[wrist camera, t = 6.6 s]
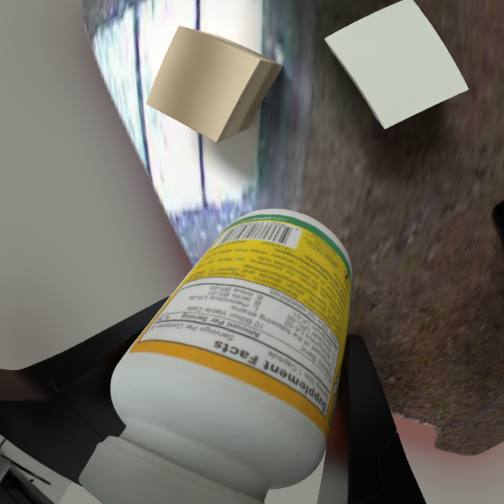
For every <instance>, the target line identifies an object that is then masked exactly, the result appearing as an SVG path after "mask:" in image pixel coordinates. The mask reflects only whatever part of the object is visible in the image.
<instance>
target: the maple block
mask: <svg viewBox="0 0 504 504" xmlns="http://www.w3.org/2000/svg"><path fill="white" fill-rule="evenodd" d="M282 67H283V66H282V65H281V64H279V63H277V62H275V61H273V60H271V59H269V58H267V57H265V56H263V55H261V54H259V53H256V52H254V51H252V50H250V49H248V48H246V47H243V46H241V45H239V44H237V43H234V42H232V41H230V40H227V39H225V38H222V37H220V36H217V35H214V34H210V33H206V32H202V31H198V30H194V29H190V28H186V27H181V26H179V27H178V29H177V31H176V33H175V35H174V37H173V40H172V42H171V44H170V46H169V48H168V51H167V53H166V55H165V57H164V60H163V62H162V64H161V67H160V69H159V72H158V74H157V77H156V79H155V82H154V84H153V87H152V89H151V92H150V95H149V97H148V100H147V103H146V104H147V105H149V106H151V107H153V108H155V109H156V110H158V111H160V112H162V113H164V114H166V115H168V116H170V117H172V118H173V119H175V120H177V121H179V122H181V123H183V124H184V125H186V126H188V127H190V128H191V129H193V130H195V131H197V132H199V133H200V134H202V135H204V136H206V137H207V138H209V139H211V140H212V141H214V142H216V143H217V142H219V141H221V140H223V139H225V138H227V137H230V136H232V135H234V134H236V133H238V132H240V131H243V130H245V129H247V128H248V126H249V124H250V122H251V121H252V119H253V117H254V115H255V113H256V112H257V110H258V108H259V106H260V105H261V103H262V101H263V99H264V98H265V96H266V94H267V92H268V91H269V89H270V87H271V86H272V84H273V82H274V80H275V79H276V77H277V75H278V74H279V72H280V70H281V69H282Z"/></svg>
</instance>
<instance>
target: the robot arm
mask: <svg viewBox="0 0 504 504" xmlns="http://www.w3.org/2000/svg"><path fill="white" fill-rule="evenodd" d="M500 210H502V211H501V213H500V214H498V212H499V211H500ZM494 215H495V217H496V220H497V222H498V225H499V227H500V230H501V233H502V235H503V238H504V200H503V201H502V202H500V203H499V204H498V205H496V206H495V208H494ZM169 297H170V296H169ZM169 297H166V298H164V299H162V300H160V301H158V302H156V303H155V304H153V305H151V306H149V307H147V308H145V309H143V310H141V311H140V312H138V313H136V314H134V315H132V316H130V317H128V318H126V319H124V320H123V321H121V322H119V323H117V324H115V325H113V326H111V327H109V328H108V329H106V330H104V331H102V332H100V333H98V334H96V335H94V336H93V337H91V338H89V339H87V340H85V341H84V342H81V343H79V344H77V345H76V346H73V347H71V348H70V349H68V350H66V351H64V352H62V353H59V354H57V355H55V356H52V357H50V358H48V359H46V360H43V361H41V362H38V363H36V364H33V365H31V366H29V367H26V368H23V369H20V370H5V369H0V504H58V503H59V501H60V500H61V498H62V497H63V495H64V493H65V492H66V490H67V489H68V487H69V485H70V484H71V482H74V483H76V484H78V485H80V486H82V485H81V484H80V482H79V476H80V475H81V473H82V471H83V470H84V468H85V466H86V465H87V463H88V461H89V460H90V458H91V456H92V455H93V453H94V451H95V449H96V447H97V444H98V443H101V442H103V441H104V440H105V439H106V438H107V437H108V436H115V437H119V436H120V435H121V434H122V433H123V431H124V430H125V428H126V425H125V424H124V423H123V421H122V420H121V419H120V417H119V415H118V414H117V412H116V410H115V408H114V405H113V402H112V398H111V390H110V388H111V379H112V375H113V372H114V370H115V368H116V366H117V364H118V363H119V362H120V360H121V359H122V358H123V356H124V355H125V354H126V352H127V351H128V349H129V348H130V347H131V346H132V344H133V343H134V342H135V340H136V339H137V338H138V337H139V335H140V334H141V333H142V332H143V330H144V329H145V328H146V327H147V325H148V324H149V323H150V322H151V320H152V319H153V318H154V316H155V315H156V314H157V313H158V311H159V310H160V309H161V308H162V306H163V305H164V304H165V303H166V301H167V300H168V299H169ZM396 431H397V429H396V426H395V423H394V420H393V417H392V414H391V411H390V408H389V406H388V403H387V400H386V397H385V394H384V392H383V389H382V386H381V384H380V381H379V378H378V376H377V373H376V370H375V368H374V365H373V363H372V360H371V358H370V355H369V353H368V350H367V348H366V345H365V343H364V340H363V338H362V336H360V335H354V334H349V335H348V336H347V339H346V344H345V352H344V359H343V364H342V369H341V377H340V382H339V387H338V393H337V399H336V405H335V410H334V415H333V421H332V427H331V430H330V434H329V438H328V442H327V447H326V454H325V461H324V467H323V473H322V479H321V485H320V491H319V496H318V501H317V504H426V502H425V499H424V497H423V495H422V493H421V490H420V488H419V486H418V484H417V481H416V479H415V477H414V475H413V472H412V470H411V468H410V465H409V463H408V460H407V458H406V455H405V452H404V449H403V446H402V444H401V441H400V437H399V435H398V433H397V432H396ZM82 487H83V486H82Z"/></svg>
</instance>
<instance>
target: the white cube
mask: <svg viewBox="0 0 504 504" xmlns="http://www.w3.org/2000/svg"><path fill="white" fill-rule="evenodd" d="M325 41H326V43H327V44H328V46H329V48H330V50H331V51H332V53H333V54H334V55H335V57H336V58H337V60H338V61H339V62H340V64H341V65H342V66H343V68H344V69H345V71H346V72H347V73H348V75H349V76H350V78H351V79H352V81H353V82H354V84H355V85H356V87H357V88H358V90H359V91H360V93H361V94H362V96H363V98H364V99H365V101H366V102H367V104H368V106H369V107H370V109H371V110H372V112H373V114H374V116H375V117H376V119H377V120H378V121H379V123H380V124H381V125H382V126H383V128H384V129H386V128H388V127H390V126H392V125H394V124H396V123H398V122H400V121H402V120H404V119H406V118H408V117H410V116H413V115H415V114H417V113H419V112H421V111H423V110H425V109H427V108H429V107H431V106H433V105H436V104H438V103H440V102H442V101H444V100H446V99H449V98H451V97H453V96H455V95H457V94H460V93H462V92H464V91H466V90H469V89H468V87H467V85H466V83H465V81H464V79H463V77H462V75H461V73H460V71H459V70H458V68H457V66H456V64H455V62H454V61H453V59H452V57H451V55H450V54H449V52H448V50H447V49H446V47H445V45H444V44H443V42H442V41H441V39H440V37H439V36H438V34H437V33H436V31H435V30H434V28H433V27H432V25H431V24H430V22H429V21H428V20H427V18H426V17H425V15H424V14H423V13H422V11H421V10H420V9H419V7H418V6H417V5H416V3H415V2H414V1H413V0H402V1H400V2H398V3H395V4H393V5H391V6H388V7H386V8H384V9H381V10H379V11H377V12H375V13H373V14H371V15H369V16H366V17H364V18H362V19H360V20H358V21H356V22H354V23H352V24H350V25H348V26H347V27H345V28H343V29H341V30H339V31H337V32H335V33H334V34H332V35H330V36H328V37H326V38H325Z"/></svg>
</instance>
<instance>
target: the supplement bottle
mask: <svg viewBox="0 0 504 504" xmlns="http://www.w3.org/2000/svg"><path fill="white" fill-rule="evenodd" d="M351 285H352V268H351V262H350V259H349V256H348V254H347V252H346V250H345V248H344V246H343V245H342V243H341V242H340V241H339V240H338V238H337V237H336V236H335V235H334V234H333V233H332V232H331V231H330V230H329V229H328V228H326V227H325V226H324V225H322V224H321V223H320V222H318V221H317V220H315V219H313V218H311V217H309V216H307V215H304V214H301V213H298V212H294V211H290V210H285V209H264V210H258V211H254V212H251V213H248V214H246V215H244V216H241V217H240V218H238V219H236V220H235V221H234V222H232V223H231V224H230V225H229V226H228V227H227V228H226V229H225V230H224V231H223V232H222V233H221V235H220V236H219V237H218V238H217V240H216V241H215V242H214V243H213V245H212V246H211V247H210V248H209V249H208V251H207V252H206V253H205V254H204V255H203V257H202V258H201V259H200V260H199V261H198V263H197V264H196V265H195V266H194V268H193V269H192V270H191V271H190V273H189V274H188V275H187V276H186V277H185V279H184V280H183V281H182V282H181V284H180V285H179V286H178V288H177V289H176V290H175V291H174V292H173V294H172V295H171V296H170V297H169V299H168V300H167V301H166V303H165V304H164V305H163V306H162V308H161V309H160V310H159V311H158V313H157V314H156V315H155V316H154V318H153V319H152V320H151V322H150V323H149V324H148V325H147V327H146V328H145V329H144V330H143V332H142V333H141V334H140V335H139V337H138V338H137V339H136V340H135V342H134V343H133V344H132V346H131V347H130V348H129V349H128V351H127V352H126V354H125V355H124V356H123V358H122V359H121V360H120V362H119V363H118V364H117V366H116V368H115V370H114V372H113V375H112V379H111V388H110V390H111V398H112V402H113V405H114V408H115V410H116V412H117V414H118V415H119V417H120V419H121V420H122V421H123V423H124V424H125V425H126V428H125V430H124V431H123V433H122V434H121V435H120V436H119V437H115V436H108V437H107V438H106V439H105V440H104V441H103V442H101V443H98V444H97V447H96V449H95V451H94V453H93V455H92V456H91V458H90V460H89V461H88V463H87V465H86V466H85V468H84V470H83V471H82V473H81V475H80V476H79V482H80V484H81V485H82V486H83V487H84V488H85V489H86V490H87V491H88V492H89V493H91V494H92V495H93V496H94V497H95V498H97V499H98V500H99V501H100V502H101V503H103V504H265V503H264V500H265V497H266V494H267V492H268V489H280V488H285V487H289V486H292V485H295V484H297V483H299V482H301V481H302V480H304V479H306V478H307V477H308V476H309V475H310V474H312V472H313V471H314V470H315V469H316V468H317V467H318V465H319V463H320V462H321V460H322V458H323V455H324V452H325V449H326V446H327V442H328V438H329V434H330V430H331V427H332V421H333V415H334V410H335V405H336V399H337V393H338V387H339V382H340V377H341V369H342V364H343V359H344V352H345V344H346V337H347V329H348V320H349V312H350V301H351Z"/></svg>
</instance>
